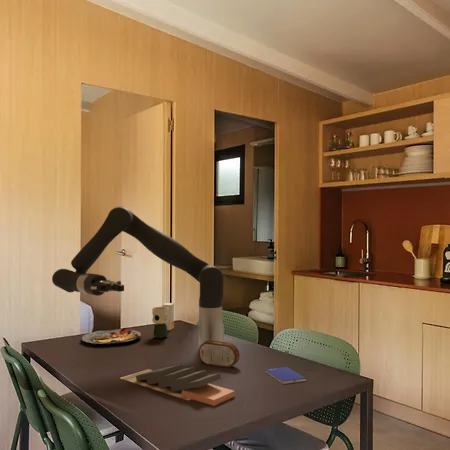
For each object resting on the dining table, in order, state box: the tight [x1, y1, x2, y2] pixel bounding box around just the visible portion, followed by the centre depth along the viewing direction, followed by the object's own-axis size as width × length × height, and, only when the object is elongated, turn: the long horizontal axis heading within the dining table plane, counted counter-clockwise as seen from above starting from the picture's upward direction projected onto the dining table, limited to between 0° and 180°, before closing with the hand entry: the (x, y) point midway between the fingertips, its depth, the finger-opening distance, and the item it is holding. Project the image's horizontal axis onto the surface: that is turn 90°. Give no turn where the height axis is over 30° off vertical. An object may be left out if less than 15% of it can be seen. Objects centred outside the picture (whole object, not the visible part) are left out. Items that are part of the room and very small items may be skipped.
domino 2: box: [146, 366, 196, 384], centre depth 143 cm, size 2×9×12 cm
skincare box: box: [161, 302, 175, 331], centre depth 224 cm, size 6×4×12 cm
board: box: [120, 368, 192, 401], centre depth 145 cm, size 30×12×1 cm, turn 51°
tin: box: [198, 340, 240, 368], centre depth 166 cm, size 15×3×8 cm, turn 65°
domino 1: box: [136, 363, 184, 381], centre depth 146 cm, size 2×9×12 cm
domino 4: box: [170, 372, 222, 392], centre depth 137 cm, size 2×9×12 cm
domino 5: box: [182, 383, 235, 407], centre depth 134 cm, size 2×9×12 cm
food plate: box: [81, 327, 142, 345], centre depth 203 cm, size 25×23×4 cm
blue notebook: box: [265, 366, 307, 385], centre depth 154 cm, size 2×8×12 cm
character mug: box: [151, 306, 169, 339], centre depth 207 cm, size 11×7×13 cm, turn 39°
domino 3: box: [158, 369, 209, 388], centre depth 140 cm, size 2×9×12 cm
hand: (122, 288), depth 159 cm, fingers closed
